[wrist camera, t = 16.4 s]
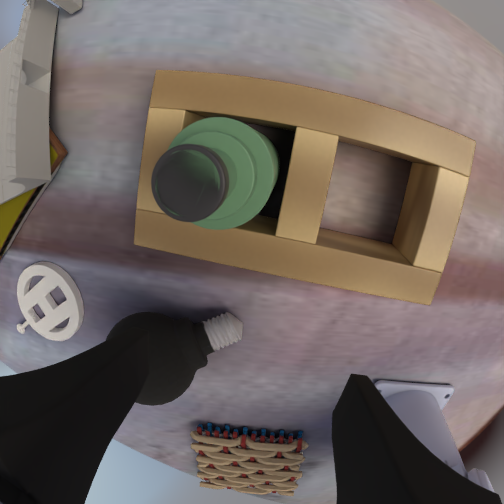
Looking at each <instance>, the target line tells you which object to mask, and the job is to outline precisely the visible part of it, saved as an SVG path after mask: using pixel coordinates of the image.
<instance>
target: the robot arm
mask: <svg viewBox="0 0 504 504" xmlns="http://www.w3.org/2000/svg"><path fill="white" fill-rule="evenodd" d="M148 375H149V331H148V330H144V329H141V328H138V327H134V326H133V327H131V328H129V329H127V330H125V331H123V332H122V333H120V334H118V335H116V336H114V337H112V338H111V339H109V340H107V341H105V342H103V343H101V344H99V345H97V346H95V347H93V348H91V349H89V350H87V351H85V352H83V353H80V354H78V355H76V356H74V357H71V358H69V359H67V360H64V361H62V362H59V363H56V364H54V365H50V366H47V367H44V368H41V369H37V370H33V371H29V372H24V373H20V374H15V375H10V376H2V377H0V504H84V503H85V500H86V498H87V495H88V492H89V489H90V487H91V484H92V481H93V479H94V476H95V474H96V472H97V469H98V467H99V464H100V462H101V460H102V458H103V455H104V453H105V451H106V449H107V447H108V445H109V443H110V441H111V439H112V438H113V436H114V435H115V433H116V431H117V430H118V428H119V427H120V425H121V423H122V422H123V420H124V419H125V417H126V416H127V414H128V412H129V411H130V409H131V408H132V406H133V404H134V403H135V401H136V400H137V398H138V396H139V395H140V392H141V390H142V388H143V386H144V384H145V381H146V379H147V377H148ZM378 390H379V391H378ZM454 391H455V389H454V387H453V386H452V385H436V384H420V383H407V382H395V381H385V380H380V381H377V382H376V383H375V384H373V383H372V381H371V380H370V379H369V378H368V376H365V375H357V374H351V375H350V377H349V380H348V382H347V384H346V386H345V388H344V390H343V392H342V395H341V397H340V399H339V401H338V403H337V405H336V407H335V409H334V411H333V417H332V443H333V453H334V463H335V473H336V483H337V504H502V503H501V500H500V497H499V495H498V494H496V493H495V492H494V490H493V488H492V486H491V483H490V481H489V479H488V476H487V475H486V473H485V471H483V470H477V469H476V468H474V469H472V470H471V471H469V472H468V473H467V471H466V470H465V468H464V465H463V462H462V460H461V457H460V455H459V452H458V449H457V447H456V444H455V442H454V439H453V437H452V435H451V432H450V430H449V427H448V425H447V423H446V420H445V418H444V416H443V413H442V409H443V408H444V406H445V405H446V403H447V402H448V400H449V399H450V397H451V396H452V394H453V393H454Z"/></svg>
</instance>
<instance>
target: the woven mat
mask: <svg viewBox="0 0 504 504" xmlns="http://www.w3.org/2000/svg"><path fill="white" fill-rule="evenodd" d="M207 426H208V430H207V431H205V429H204V428H203V426H202V424H199V425H198V427H197V431H192V432H191V434H190V435H191V437H192V438H193V439H194V440H196V441H199V442H198V443H192V444H191V449H194V451H195V452H196V453H198V452H199V454H201V455H198V456H197V458H196V461H198V462H199V464H198V465H197V467H198V469H199V470H200V471H202V472H199V471H198V474H197V477H200V478H201V479H202V480H205V481H206V482H202V481H201V482H200V487H206V488H212V489H224V488H226V487H227V489H231V488H232V489H234V490H236V491H238V492H242V493H251V494H268V493H270V492H272V493H276V492H278V493H279V494H280V495H287V496H293V494H294V491H291V490H295V489H296V488H297V487H298V484H296V482H297V481H294V480H298V479H299V478H300V477H302V471H299V468H300V464H301V463H302V462H303V461H304V460H305V458H304V457H303V452H300V450H301V449H303V450H304V449H306V448H307V447H308V446H309V445H308V444H307V443H306V442H305V441H304V440H303V439H302V433H303V431H298V438H297V439H294V440H293V433H289V436H288V440H287V439H285V438H283V435H284V430H280V433H279V438H276V439H274V435H275V434H274V432H271V433H270V439H269V438H267V437H265V434H266V429H262V430H261V437H258V438H256V437H257V435H256V431H252V435H251V437H250V436H248V435H247V430H248V428H246V427H243V434H242V435H241V436H239V432H238V429H234V432H233V435H232V434H230V433H229V431H230V426H228V425H225V430H224V432H223V433H222V432H221V430H220V427H216V428H215V429H216V430H215V432H213V431H212V423H208V425H207ZM221 433H222V434H221ZM213 435H215V436H213ZM230 437H232V438H230ZM258 440H260V441H258ZM265 440H267V441H266V442H265ZM276 441H278V443H277V442H276ZM283 441H285V442H283ZM240 444H241V445H240ZM241 447H242V448H241ZM248 448H249V449H248ZM295 448H296V450H295V451H292V450H294V449H295ZM223 450H224V451H223ZM231 453H232V454H231ZM282 455H283V456H282ZM275 457H277V458H275ZM250 461H251V462H250ZM234 465H235V466H234ZM240 466H242V467H240ZM283 468H284V469H283ZM280 469H283V470H280ZM288 469H290V470H288ZM287 470H288V471H287ZM263 472H264V473H263ZM241 476H242V477H241ZM247 476H248V477H249V478H248V477H247ZM288 479H289V481H287V480H288ZM210 482H212V483H210ZM262 483H266V484H262ZM269 483H272V484H273V485H269ZM247 486H248V487H247ZM256 487H257V488H256Z"/></svg>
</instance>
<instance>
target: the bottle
mask: <svg viewBox="0 0 504 504" xmlns="http://www.w3.org/2000/svg"><path fill="white" fill-rule="evenodd" d="M279 173H280V158H279V154H278V151H277V149H276V147H275V146H274V144H273V143H272V142H271V140H269V139H268V138H267V137H266V136H265V135H263V134H262V133H260V132H258V131H257V130H255V129H253V128H251V127H250V126H248V125H246V124H244V123H242V122H240V121H237V120H235V119H231V118H226V117H210V118H205V119H202V120H199V121H196V122H194V123H192V124H190V125H189V126H187V127H186V128H184V129H183V130H182V131H181V132H180V133H179V134H178V135H177V136H176V137H175V138H174V139H173V141H172V142H171V144H170V146H169V148H168V150H167V151H166V152H165V153H164V154H163V155H162V156H161V157H160V158H159V160H158V161H157V163H156V165H155V167H154V169H153V172H152V177H151V188H152V193H153V196H154V199H155V201H156V203H157V204H158V206H159V207H160V209H161V210H162V211H163V212H164V213H165V214H167V215H168V216H170V217H171V218H173V219H176V220H178V221H182V222H191V223H193V224H195V225H197V226H199V227H202V228H206V229H212V230H225V229H231V228H235V227H238V226H240V225H242V224H244V223H246V222H248V221H249V220H251V219H252V218H253V217H255V216H256V215H257V214H258V213H259V212H260V211H261V209H262V208H263V207H264V205H265V204H266V202H267V200H268V199H269V196H270V194H271V192H272V190H273V188H274V186H275V184H276V182H277V179H278V177H279Z"/></svg>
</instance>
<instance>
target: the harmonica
mask: <svg viewBox="0 0 504 504" xmlns="http://www.w3.org/2000/svg"><path fill="white" fill-rule="evenodd" d="M49 148H50V168H51V180H52V179H53V177H54V176H55V174H56V173H57V171H58V169H59V167H60V164H61V162H62V160H63V159H64V157H65V156H66V154H67V153H68V152H67V150H66V149H65V148H64V146H63V145H62V144H61V142H60V141H59V140H58V138H57V137H56V136H55V134H54V133H53V131H52V130H51V129H50V127H49ZM50 182H51V181H49V182H46V183H44V184H42V185H40V186H38V187H35V188H33V189H31V190H29V191H27V192H25V193H23V194H21V195H19V196H17V197H15V198H13V199H11V200H9V201H7V202H5V203H3V204H1V205H0V260H1V258H2V256H3V254H4V252H6V251H7V250H8V249H9V247H10V245H11V244H12V242H13V240H14V239H15V237H16V235H17V233H18V232H19V230H20V228H21V226H22V225H23V223H24V221H25V220H26V218H27V217H28V215H29V213H30V212H31V210H32V209H33V207H34V205H35V204H36V202H37V201H38V199H39V198H40V196H41V195H42V193H43V192H44V190H45V189H46V187H47V186H48V185H49V183H50ZM2 189H3V185H2ZM3 202H4V201H3Z"/></svg>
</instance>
